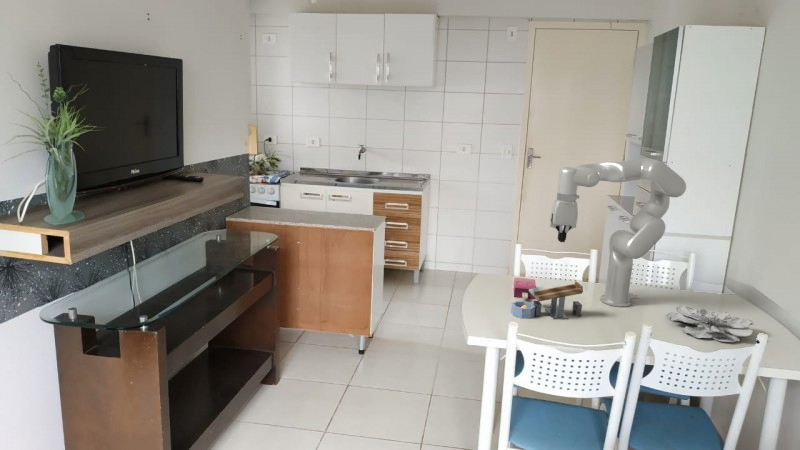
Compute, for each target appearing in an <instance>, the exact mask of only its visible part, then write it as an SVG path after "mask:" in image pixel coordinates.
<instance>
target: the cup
mask: <svg viewBox="0 0 800 450" xmlns="http://www.w3.org/2000/svg"><path fill="white" fill-rule="evenodd" d="M523 305H526V306H527V307H528V308H521V307H522V306H523ZM510 307H511V309H510V313H511V315H512V316H513V317H515V318H519V319H532V318H534V317H535V306H534V304H533V302H530V301H526V300H515V301H514V302H511V306H510Z"/></svg>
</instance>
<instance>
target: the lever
mask: <svg viewBox="0 0 800 450" xmlns="http://www.w3.org/2000/svg"><path fill="white" fill-rule="evenodd" d="M529 292H530V293H531V294H532V295H533V296H534V297H535V298H536V299H535V300H536V301H538V302H543V301H548V300H552V299H555V298H557V299H559V296H565V298H567V297H570V296H575V295H580V294H583V293H584V288H583V285H582V284H580V283H579V282H578V281H574V283H572V284H566V285H561V286H560V285H559V286H556V287H551V288H545V289H543V288H542V287H536V288H533V289H529Z"/></svg>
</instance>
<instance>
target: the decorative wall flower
mask: <svg viewBox="0 0 800 450" xmlns="http://www.w3.org/2000/svg"><path fill="white" fill-rule="evenodd" d="M676 312H678V313H673V312H670V313H668V314H667V315H666V314H665V315H666V317H667V318H668V319H670V321H671V322H680V323H686V324H689V325H695V327H692V326H687V325H685V327H684V328H683V333H685V334H690V336H692V337H694V338H696V339H701V338H702V339H713V340H715V341H718V342H721V343H735V342H740V341H741V340H740V338H739V337H743V338H745V337H750V336H751V335H753V334H754V330H753V329H750V328H749V326H752V325H755V323H754V321H753V320H751V319H749V318H742V317H741V318H740V317H736V316H733V317H732V316H730V313H729V312H726V311H712V312H710V311H708V310H707V309H704V308H703V309H699V310H698V309H693V308H691V307H688V306H687V305H684V304H683V305H681V306H679V307H676Z"/></svg>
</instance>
